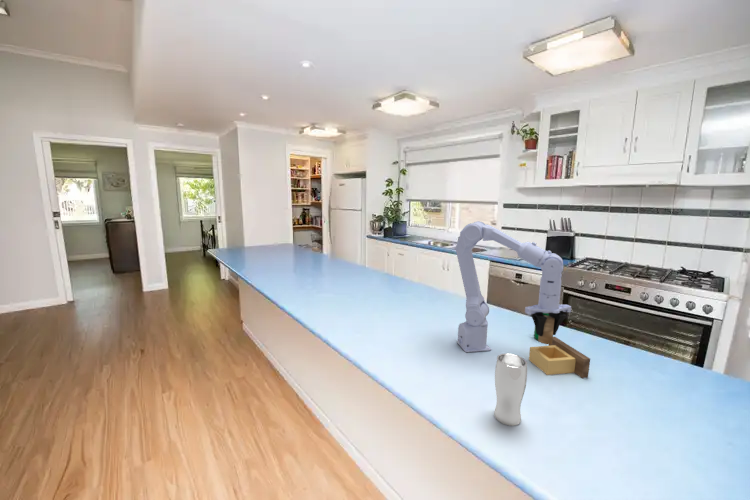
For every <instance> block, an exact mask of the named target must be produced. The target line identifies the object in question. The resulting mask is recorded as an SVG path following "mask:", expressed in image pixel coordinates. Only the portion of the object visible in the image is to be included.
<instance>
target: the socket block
mask: <svg viewBox="0 0 750 500" xmlns="http://www.w3.org/2000/svg"><path fill="white" fill-rule="evenodd" d="M528 360H529V361H530V362H531V363H532V364H533V365H535V367H536V368H538V369H540V371H542V372H543V373H544V374H545V375H547V376H549V375H551V376H552V375H561V374H562V375H563V374H574V371H575V362H576V359H575V358H574V357H572V356H571V355H569V354H568V353H566V352H565V351H563V350H562V349H560V348H559V347H557V346H556V345H551V346H549V345H540V346H530V347H529V357H528Z"/></svg>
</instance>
